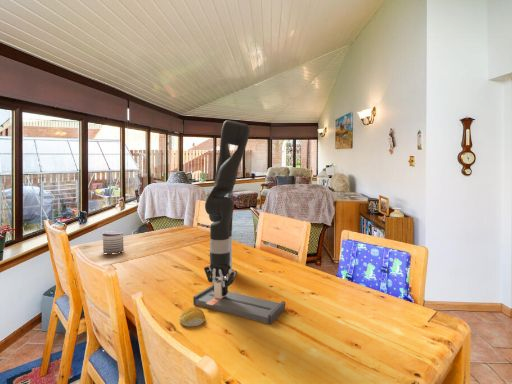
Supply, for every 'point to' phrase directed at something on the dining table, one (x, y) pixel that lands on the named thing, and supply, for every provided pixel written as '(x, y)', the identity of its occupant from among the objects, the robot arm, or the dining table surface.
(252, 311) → the fader board
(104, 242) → the can
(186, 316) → the bread roll
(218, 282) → the fader cap
